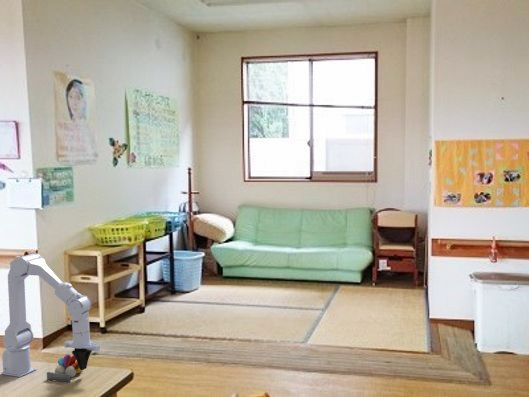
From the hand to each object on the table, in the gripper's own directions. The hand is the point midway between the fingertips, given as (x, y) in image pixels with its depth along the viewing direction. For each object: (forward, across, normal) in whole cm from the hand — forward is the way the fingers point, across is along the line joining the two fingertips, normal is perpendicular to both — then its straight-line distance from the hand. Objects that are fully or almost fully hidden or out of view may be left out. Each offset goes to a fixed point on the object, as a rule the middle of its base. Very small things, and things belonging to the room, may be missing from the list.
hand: (83, 368), depth 203 cm
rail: (+3, +6, +6) cm, 9 cm away
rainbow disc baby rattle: (+3, +7, 0) cm, 8 cm away
